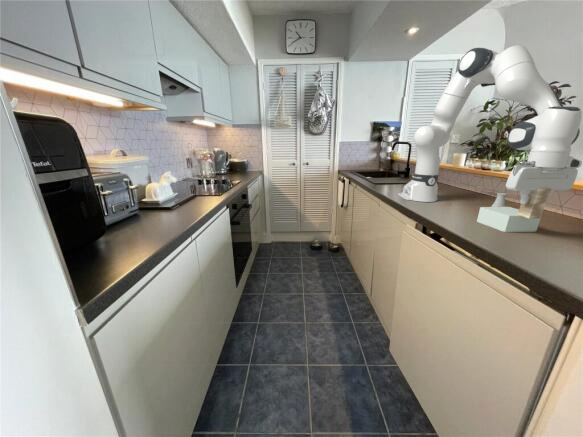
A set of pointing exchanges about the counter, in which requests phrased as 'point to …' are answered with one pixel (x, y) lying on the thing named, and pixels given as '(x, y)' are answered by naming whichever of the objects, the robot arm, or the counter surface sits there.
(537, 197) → the birch block
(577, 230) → the counter surface
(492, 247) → the counter surface
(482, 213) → the sage step
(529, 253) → the counter surface
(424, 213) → the counter surface
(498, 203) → the flask
